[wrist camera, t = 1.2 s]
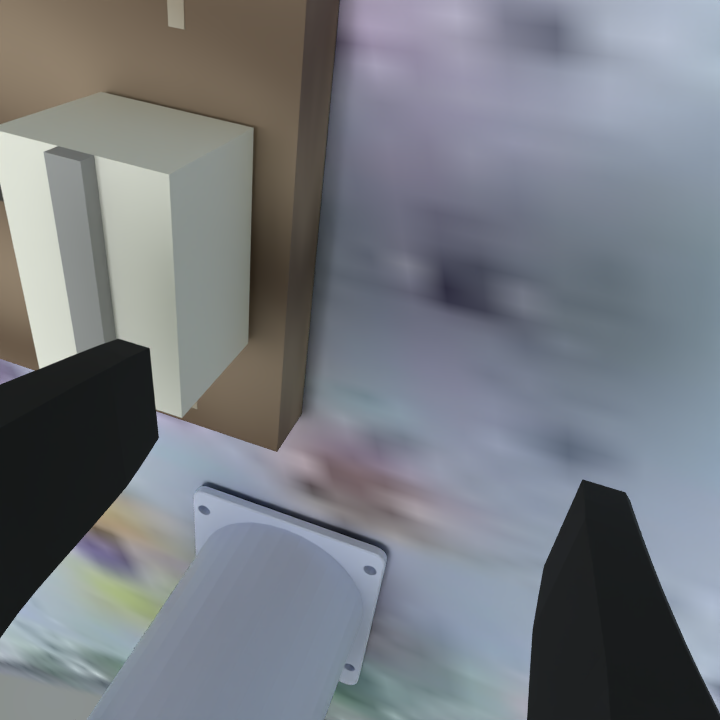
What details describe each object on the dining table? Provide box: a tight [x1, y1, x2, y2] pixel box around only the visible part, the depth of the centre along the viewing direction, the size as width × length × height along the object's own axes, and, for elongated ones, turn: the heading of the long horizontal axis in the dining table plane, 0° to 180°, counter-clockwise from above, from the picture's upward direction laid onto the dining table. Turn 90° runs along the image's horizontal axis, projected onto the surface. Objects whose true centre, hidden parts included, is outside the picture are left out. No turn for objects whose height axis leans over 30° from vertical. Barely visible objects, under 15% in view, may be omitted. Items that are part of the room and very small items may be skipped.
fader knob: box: [0, 92, 254, 418], centre depth 15 cm, size 6×4×4 cm, turn 172°
